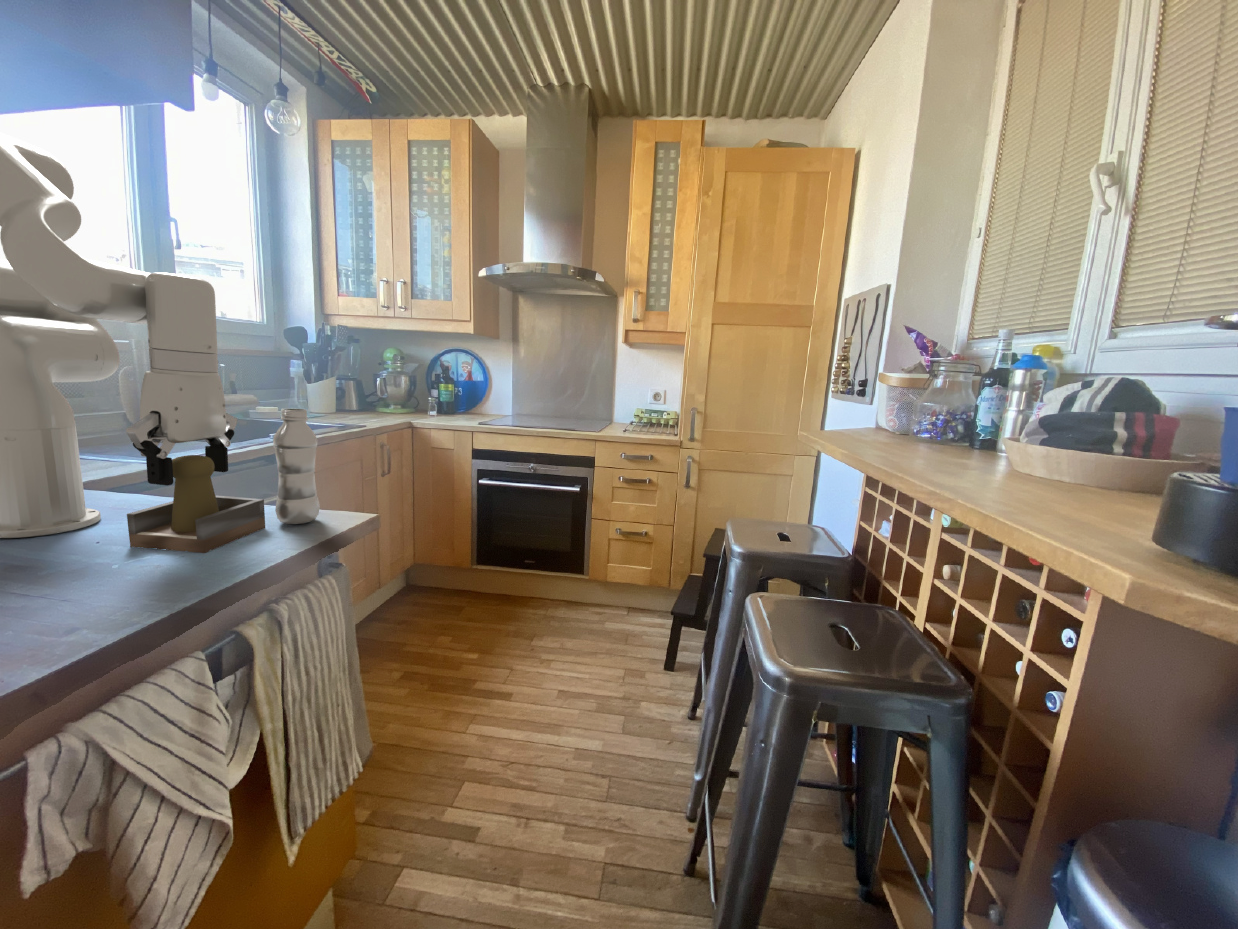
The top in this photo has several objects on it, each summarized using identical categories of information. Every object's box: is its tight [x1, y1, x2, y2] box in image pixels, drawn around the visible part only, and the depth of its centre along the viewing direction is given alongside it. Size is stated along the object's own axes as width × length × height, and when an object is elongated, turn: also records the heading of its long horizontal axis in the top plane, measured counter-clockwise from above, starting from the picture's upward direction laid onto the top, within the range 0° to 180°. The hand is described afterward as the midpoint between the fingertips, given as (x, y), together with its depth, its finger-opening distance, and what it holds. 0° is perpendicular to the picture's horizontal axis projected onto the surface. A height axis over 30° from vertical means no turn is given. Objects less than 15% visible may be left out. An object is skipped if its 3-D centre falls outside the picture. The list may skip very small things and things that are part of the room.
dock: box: [126, 494, 266, 554], centre depth 77 cm, size 11×12×5 cm
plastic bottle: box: [272, 407, 320, 525], centre depth 85 cm, size 6×7×20 cm
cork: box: [171, 454, 219, 532], centre depth 75 cm, size 6×6×11 cm
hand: (190, 477), depth 75 cm, fingers open, 9 cm apart
